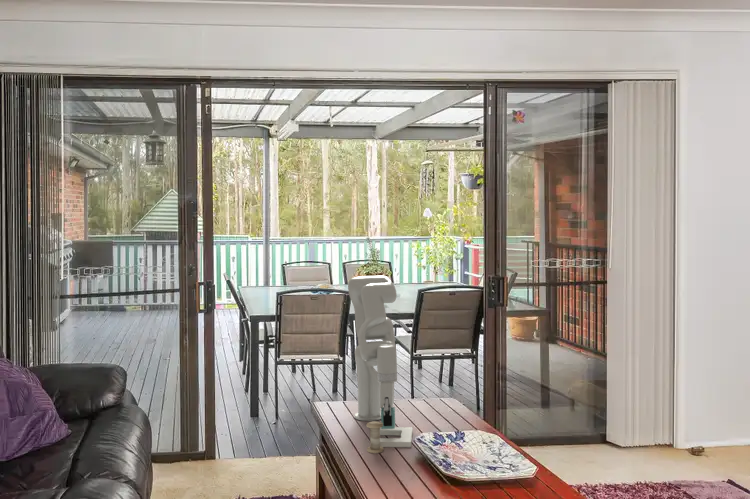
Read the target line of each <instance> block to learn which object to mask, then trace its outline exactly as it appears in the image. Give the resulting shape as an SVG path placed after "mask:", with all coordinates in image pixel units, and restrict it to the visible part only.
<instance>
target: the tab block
mask: <svg viewBox="0 0 750 499" xmlns="http://www.w3.org/2000/svg"><path fill="white" fill-rule="evenodd" d="M380 411H381V419H380V420H381V421H380V422H382V423H383V427H381V429H395V427H396V407H394V406H393V407H392V408H391V415H392V426H384V422H383V415H384V406H383V407H382V408H380ZM389 411H390V409H389Z"/></svg>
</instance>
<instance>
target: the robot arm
mask: <svg viewBox="0 0 750 499" xmlns="http://www.w3.org/2000/svg"><path fill="white" fill-rule="evenodd" d="M347 289H348V290H347V291H348V296H349V299H350V301H351V304H352V306H353V310H354V321H355V332H356V336H357V341H358V345H356V347H355V349H354V358H355V359H354V360H355V364H356V376H357V412H356V413H354V418H355V420H358V421H362V422H374V421H376V422H377V421H379V420H381V409H382V407H384V415H383V422H384V426H392V415H391V408H392V407H394V401H395V382H397V381H398V364H397V363H398V360H397V359H398V357H397V353H398V352H397V347H396V346H397V345H396V339H395V338H396V337H395V330H394V329H395V328H394V323H393V322H392V320H391V318H389V317H387V313H386V308H385V304H392V303H394V302H395V301H396V299H397V290H396V286H395V285H394V282H392V280H391V279H390V278H389V276H386V275H363V276H362V275H361V276H355V277H352V278H350V279H349V281H348V283H347ZM375 367H377V368H376V369H375ZM389 409H390V411H389Z"/></svg>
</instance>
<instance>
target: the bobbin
mask: <svg viewBox="0 0 750 499" xmlns="http://www.w3.org/2000/svg"><path fill="white" fill-rule="evenodd" d="M381 427H383V423H382V422H381V421H377V420H376V421H367V423H366V428H369V440H370V442H369V443H370V445H369V446H368V447H367V448H366V452H368V453H370V454H380V453H383V452H384V447H381V446H380V438H381V435H380V428H381Z"/></svg>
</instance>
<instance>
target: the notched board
mask: <svg viewBox="0 0 750 499" xmlns="http://www.w3.org/2000/svg"><path fill="white" fill-rule="evenodd" d="M413 432H414V430H413V427H412V426H411V427H410V426H405V427H403V426H395V429H381V428H380V436H400V437H399V438H393V437H392V438H390V437H389V438H388V437H387V438H384V437H382V438H381V437H380V446H381V447H383V448H412V441H413Z"/></svg>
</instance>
